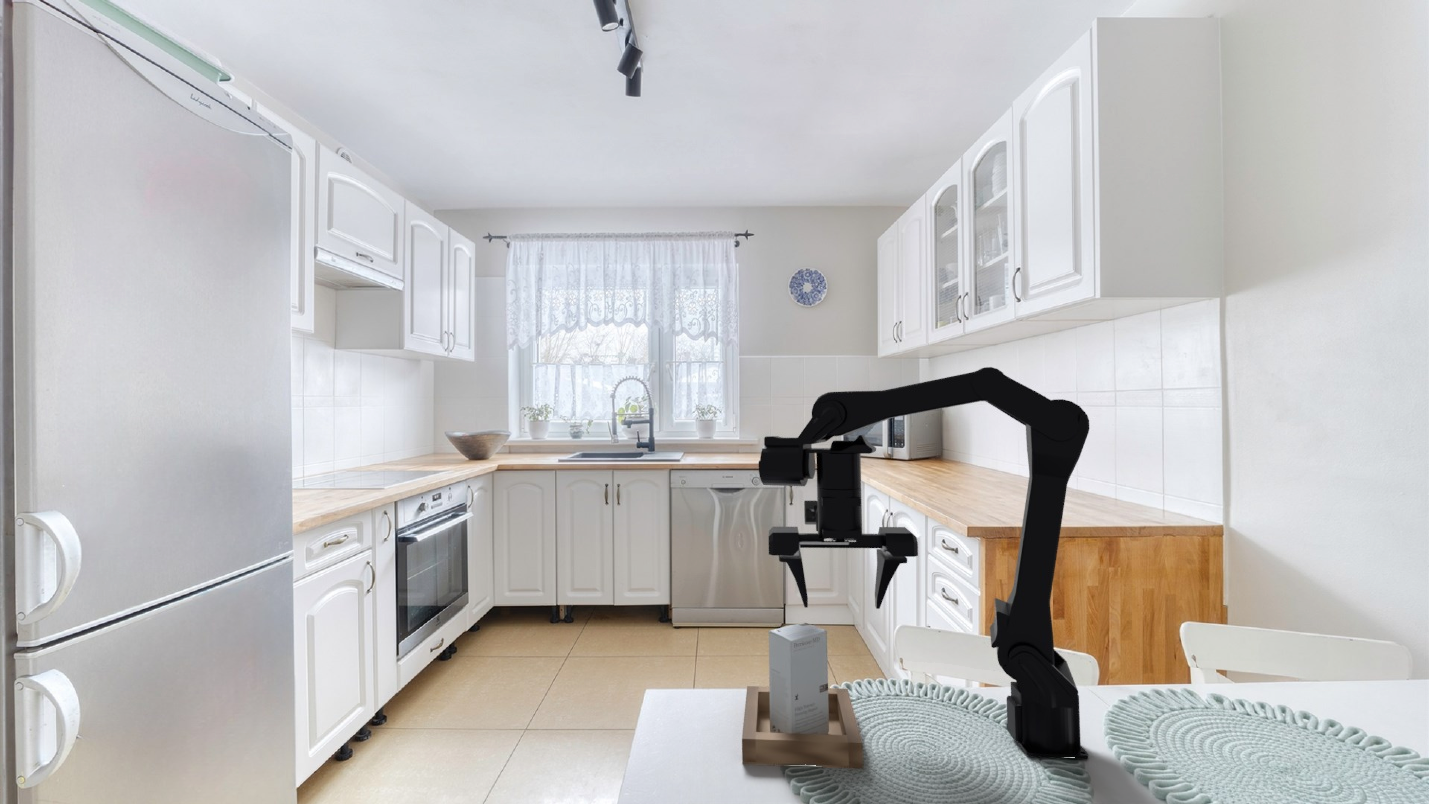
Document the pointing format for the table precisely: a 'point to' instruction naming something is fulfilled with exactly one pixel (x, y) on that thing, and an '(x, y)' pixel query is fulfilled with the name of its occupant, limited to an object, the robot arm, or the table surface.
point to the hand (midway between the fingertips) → (841, 607)
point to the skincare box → (798, 680)
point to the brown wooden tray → (801, 735)
